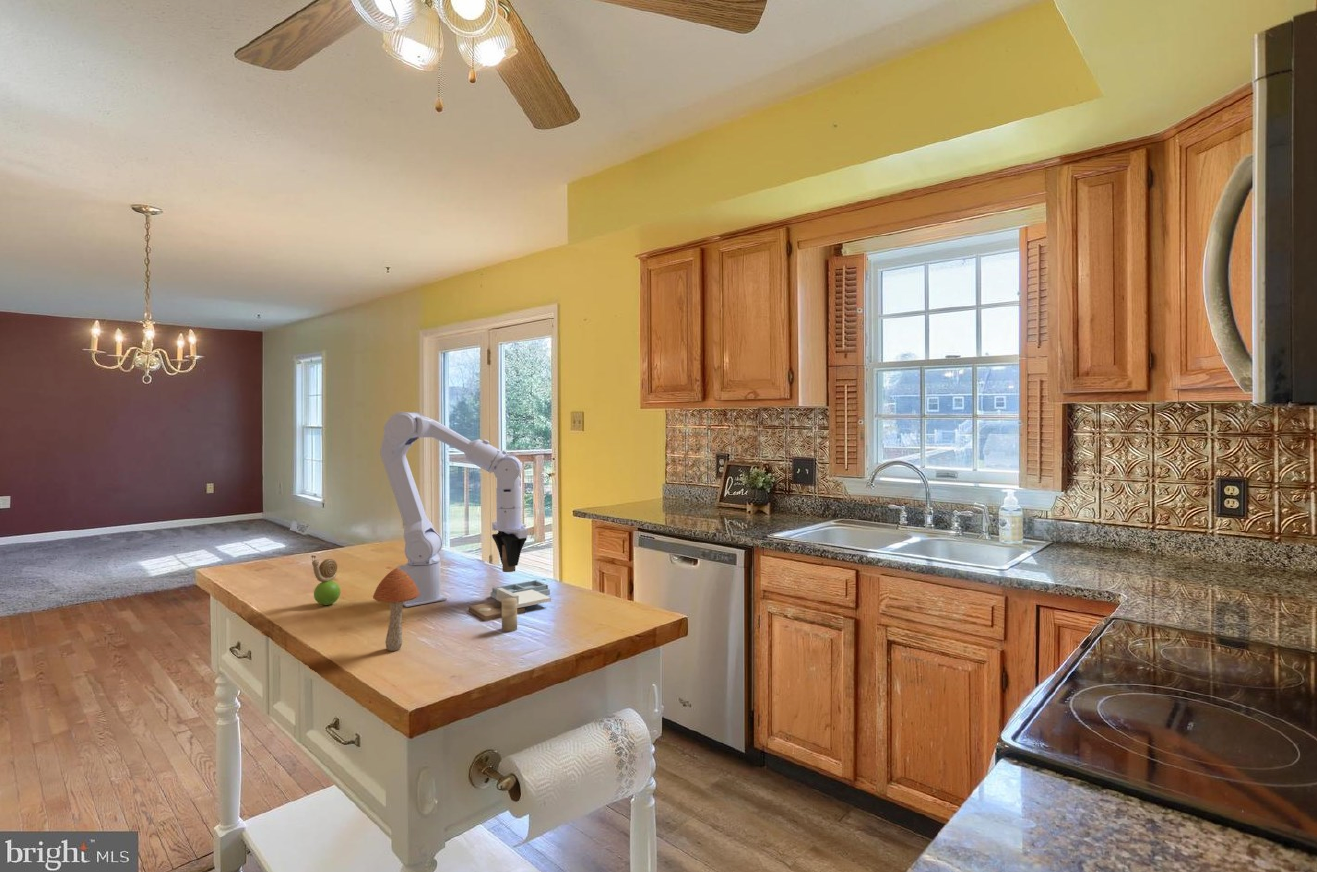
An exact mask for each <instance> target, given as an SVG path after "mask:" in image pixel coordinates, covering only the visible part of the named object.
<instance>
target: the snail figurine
mask: <svg viewBox="0 0 1317 872" xmlns="http://www.w3.org/2000/svg"><path fill="white" fill-rule="evenodd" d="M316 558H317V555H313V554H312V555H311V560H312V562H311V565H312V567H313V573H314V577H315V578H316V580H317V581H319V583H318V584H317V586H315V588H314V591H313V597H314V600H315V601H316V602H317V603H318V604H320V605H322V606H330V605H332V604H334V603H336V602H337V601H338V599H339V598H340V596H341V591H342V590H341V587H340V585H339V584H338V583H337V582H336V581H334V579H335V578H336V576H337V572H338V571H337V570H338V563H337V562H336V561H335V560H334V559H333V558H327V559H324V560H323V561H322V562H321V563H319V560H318V559H316ZM313 559H314V560H313Z"/></svg>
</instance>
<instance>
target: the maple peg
mask: <svg viewBox="0 0 1317 872" xmlns="http://www.w3.org/2000/svg"><path fill="white" fill-rule="evenodd" d="M517 630H518V614H517V599H516V598H505V599H502V618H501V631H502V632H505V633H511V632H515V631H517Z"/></svg>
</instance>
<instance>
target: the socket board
mask: <svg viewBox="0 0 1317 872" xmlns="http://www.w3.org/2000/svg"><path fill="white" fill-rule="evenodd" d="M497 588H503V589H506V590H508V591H510V592H512V593H516V592H521V591H526V590H534V591H537V592H539V593H541V594H544V595H546V596H548V595H550V594H551V590H550V589H551V588H549V585H548V584H546V583H544V582H541V581H539V580H537V579H535V580H529V581H523V582H518V583H513V584H507V585H502V586H501V585H500V586H495V587H492V589H491V591H490V598H492V599H494V600H496V596H497Z"/></svg>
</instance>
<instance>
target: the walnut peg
mask: <svg viewBox="0 0 1317 872" xmlns="http://www.w3.org/2000/svg"><path fill="white" fill-rule="evenodd" d="M501 564H502V565H501V566H502V572H503V573H513V572H516V566H511V567H509V566H508V563H507V555H506V549H505V546H504V545H502V563H501Z"/></svg>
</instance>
